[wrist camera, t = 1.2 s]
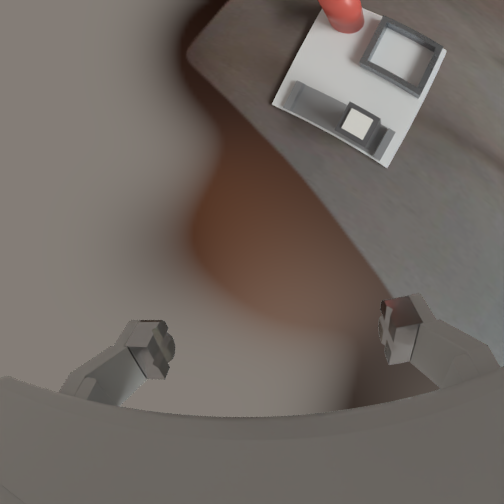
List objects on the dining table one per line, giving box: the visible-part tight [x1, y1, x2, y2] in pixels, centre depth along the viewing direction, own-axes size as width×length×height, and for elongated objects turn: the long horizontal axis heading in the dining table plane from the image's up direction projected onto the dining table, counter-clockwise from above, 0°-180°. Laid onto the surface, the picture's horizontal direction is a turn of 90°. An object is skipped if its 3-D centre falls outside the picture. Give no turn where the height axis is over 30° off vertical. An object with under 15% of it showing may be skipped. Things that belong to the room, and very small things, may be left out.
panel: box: [272, 8, 447, 168], centre depth 30 cm, size 20×18×2 cm
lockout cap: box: [318, 0, 365, 34], centre depth 24 cm, size 5×5×9 cm
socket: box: [359, 15, 443, 99], centre depth 26 cm, size 9×9×2 cm
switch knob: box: [335, 102, 381, 150], centre depth 29 cm, size 4×4×9 cm
